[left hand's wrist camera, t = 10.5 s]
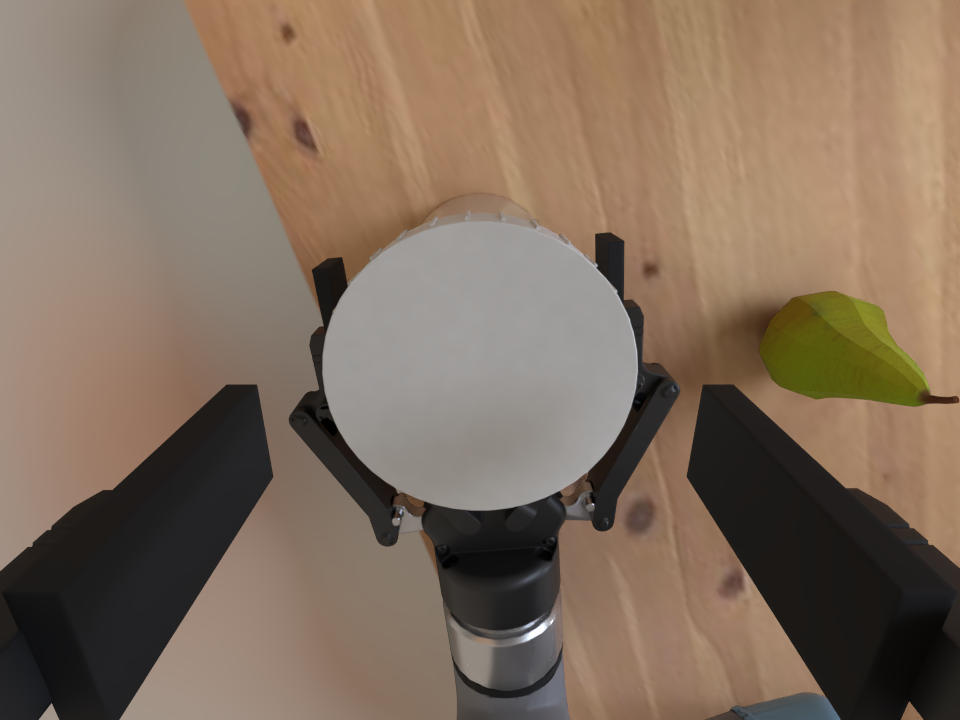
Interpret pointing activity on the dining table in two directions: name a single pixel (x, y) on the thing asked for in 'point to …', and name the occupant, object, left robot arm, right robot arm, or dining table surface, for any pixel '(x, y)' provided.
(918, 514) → the dining table surface
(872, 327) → the fruit
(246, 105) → the dining table surface
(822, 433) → the dining table surface
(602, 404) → the lid
